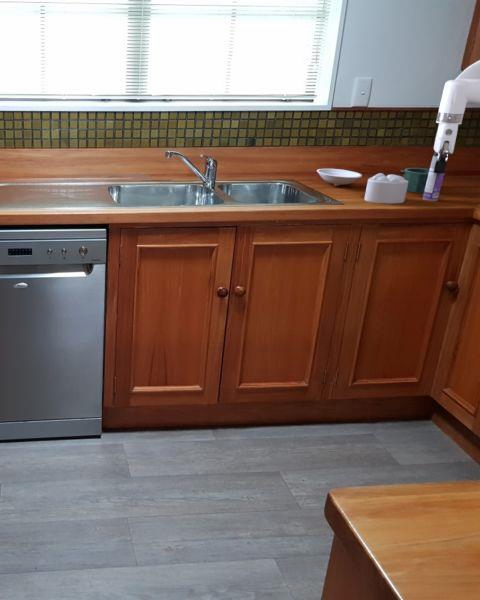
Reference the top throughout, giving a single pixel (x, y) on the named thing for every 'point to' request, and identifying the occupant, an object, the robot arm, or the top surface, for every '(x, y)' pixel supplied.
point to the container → (433, 183)
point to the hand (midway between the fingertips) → (436, 170)
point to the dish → (338, 176)
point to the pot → (416, 179)
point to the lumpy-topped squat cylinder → (386, 189)
